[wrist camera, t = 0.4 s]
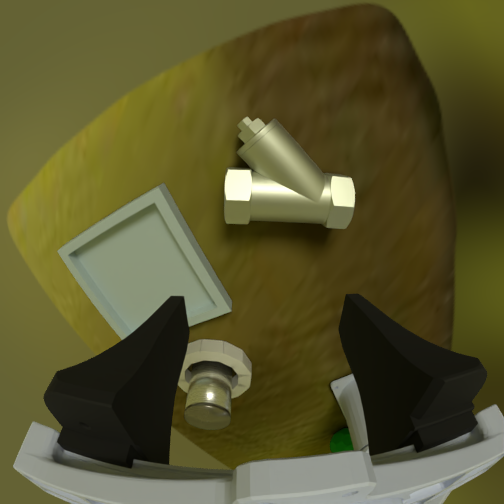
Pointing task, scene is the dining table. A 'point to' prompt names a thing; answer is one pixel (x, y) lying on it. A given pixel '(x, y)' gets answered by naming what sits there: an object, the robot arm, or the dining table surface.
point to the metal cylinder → (209, 395)
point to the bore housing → (220, 353)
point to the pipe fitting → (283, 182)
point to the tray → (144, 264)
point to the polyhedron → (341, 441)
